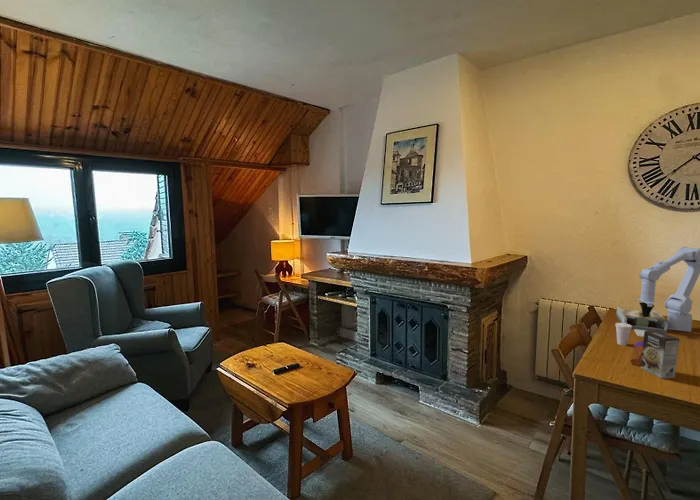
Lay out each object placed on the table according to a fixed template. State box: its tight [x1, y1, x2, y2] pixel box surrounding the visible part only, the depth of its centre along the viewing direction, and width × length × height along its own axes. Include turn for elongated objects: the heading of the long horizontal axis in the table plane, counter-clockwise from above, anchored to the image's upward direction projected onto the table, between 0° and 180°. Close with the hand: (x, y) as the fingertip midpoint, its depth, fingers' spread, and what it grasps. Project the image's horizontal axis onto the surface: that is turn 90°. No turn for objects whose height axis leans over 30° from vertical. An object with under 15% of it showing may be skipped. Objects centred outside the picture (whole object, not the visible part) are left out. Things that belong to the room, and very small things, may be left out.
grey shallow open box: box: [615, 306, 668, 334], centre depth 201 cm, size 18×25×6 cm
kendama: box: [630, 340, 644, 367], centre depth 157 cm, size 6×6×20 cm
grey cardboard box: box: [640, 331, 680, 379], centre depth 142 cm, size 9×6×16 cm
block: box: [634, 317, 649, 327], centre depth 198 cm, size 5×5×5 cm
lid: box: [620, 308, 667, 322], centre depth 197 cm, size 18×13×3 cm
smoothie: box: [614, 316, 633, 347], centre depth 172 cm, size 6×6×14 cm
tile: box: [633, 329, 645, 338], centre depth 184 cm, size 10×10×1 cm
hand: (645, 316), depth 191 cm, fingers closed
